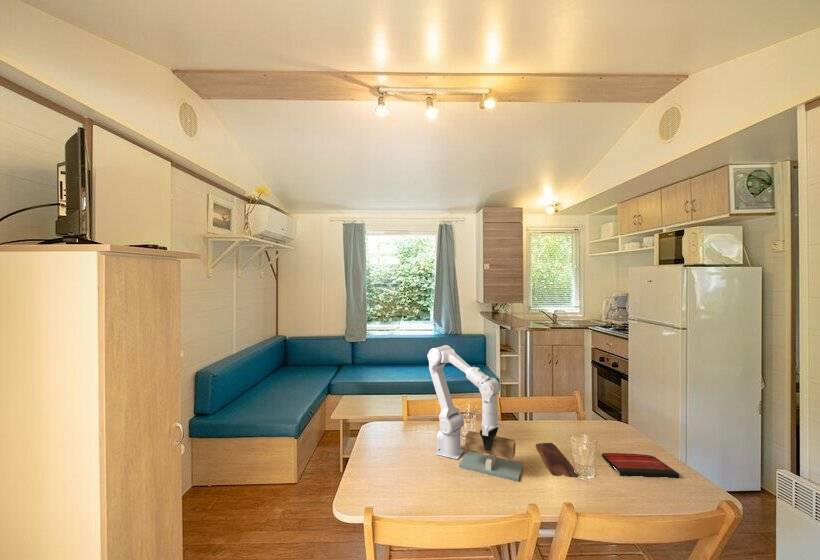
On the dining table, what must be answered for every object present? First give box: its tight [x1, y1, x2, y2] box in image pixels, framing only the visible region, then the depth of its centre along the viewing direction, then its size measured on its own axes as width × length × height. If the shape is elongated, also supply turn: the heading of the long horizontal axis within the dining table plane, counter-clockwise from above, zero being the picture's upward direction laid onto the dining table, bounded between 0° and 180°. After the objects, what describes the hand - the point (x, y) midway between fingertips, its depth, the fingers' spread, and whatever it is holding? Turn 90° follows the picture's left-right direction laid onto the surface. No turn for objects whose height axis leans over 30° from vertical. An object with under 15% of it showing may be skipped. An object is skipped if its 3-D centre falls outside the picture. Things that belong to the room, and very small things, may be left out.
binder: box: [601, 452, 680, 479], centre depth 137 cm, size 16×2×21 cm
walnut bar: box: [464, 430, 516, 460], centre depth 135 cm, size 18×5×5 cm, turn 64°
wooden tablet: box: [535, 442, 578, 478], centre depth 143 cm, size 26×2×10 cm
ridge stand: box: [458, 450, 524, 482], centre depth 137 cm, size 22×12×4 cm, turn 65°
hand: (489, 447), depth 135 cm, fingers closed on walnut bar, 5 cm apart
